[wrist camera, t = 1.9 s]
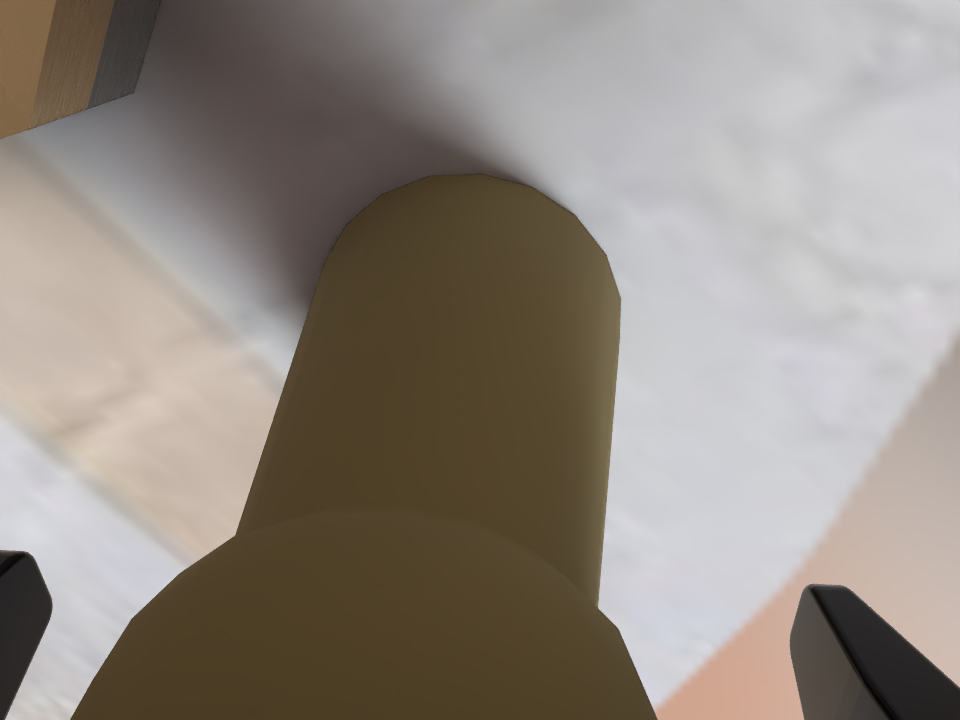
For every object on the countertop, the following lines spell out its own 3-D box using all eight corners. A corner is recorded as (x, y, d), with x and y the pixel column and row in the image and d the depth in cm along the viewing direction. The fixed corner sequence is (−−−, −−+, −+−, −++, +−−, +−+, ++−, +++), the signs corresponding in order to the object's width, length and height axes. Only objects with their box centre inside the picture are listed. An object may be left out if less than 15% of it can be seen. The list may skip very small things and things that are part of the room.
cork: (319, 430, 16) (-11, 1145, 6) (313, 155, 13) (-325, 728, 3) (593, 463, 16) (669, 1241, 6) (651, 193, 13) (967, 899, 3)
